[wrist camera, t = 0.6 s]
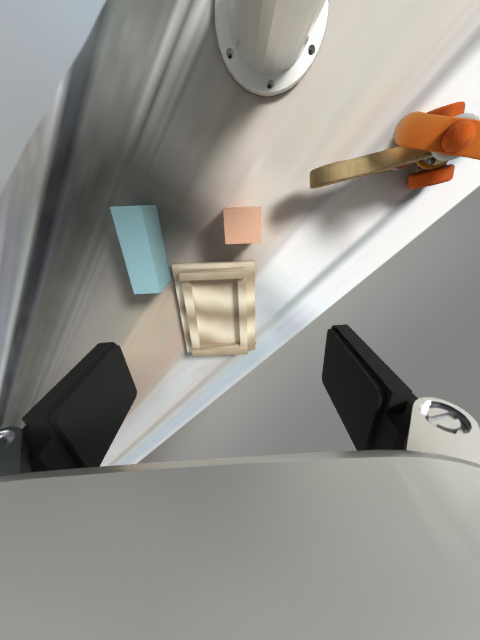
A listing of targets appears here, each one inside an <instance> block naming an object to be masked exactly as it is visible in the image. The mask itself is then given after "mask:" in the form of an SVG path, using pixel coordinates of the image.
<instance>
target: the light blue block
mask: <svg viewBox="0 0 480 640" xmlns="http://www.w3.org/2000/svg"><path fill="white" fill-rule="evenodd" d="M110 210H111V214H112V217H113V221H114V224H115V228H116V231H117V235H118V239H119V242H120V246H121V249H122V253H123V256H124V260H125V263H126V267H127V271H128V274H129V278H130V281H131V285H132V288H133V292H134V294H151V293H161V291H162V290H163V289H164V288H165V287H166V286H167V284H168V283H169V282H170V281H171V278H170V273H169V268H168V263H167V257H166V252H165V247H164V242H163V237H162V231H161V226H160V221H159V216H158V211H157V205H137V206H115V207H110Z"/></svg>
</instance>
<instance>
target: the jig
mask: <svg viewBox="0 0 480 640" xmlns="http://www.w3.org/2000/svg"><path fill="white" fill-rule="evenodd" d="M172 270H173V276H174V281H175V287H176V292H177V298H178V303H179V309H180V314H181V320H182V325H183V331H184V336H185V342H186V347H187V352H192V356H214V355H239V354H248V350H255V261H254V260H248V261H224V262H199V263H174V264H172Z"/></svg>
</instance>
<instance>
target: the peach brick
mask: <svg viewBox="0 0 480 640" xmlns="http://www.w3.org/2000/svg"><path fill="white" fill-rule="evenodd" d="M223 215H224V231H225V244H244V243H261V207H233V208H223Z"/></svg>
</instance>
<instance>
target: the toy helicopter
mask: <svg viewBox="0 0 480 640" xmlns="http://www.w3.org/2000/svg"><path fill="white" fill-rule="evenodd" d="M464 109H465V103H464V102H456V103H453V104H449V105H446V106H443V107H440V108H437V109H435V110H432V111H430V112H427V113H422V112H412V113H410V114H408V115H406V116H405V117H404V118H402V119H401V121H400V122H399V123H398V124H397V126H396V128H395V131H394V141H395V143H396V144H397V145H398V146H397V147H395V148H391V149H387V150H384V151H380V152H376V153H372V154H369V155H365V156H361V157H358V158H354V159H350V160H344V161H339V162H335V163H331V164H328V165H325V166H322V167H319V168H316V169H314V170H312V171H311V172H310V188H312V189H313V188H318V187H322V186H326V185H330V184H334V183H337V182H341V181H345V180H349V179H353V178H357V177H361V176H364V175H368V174H372V173H379V172H384V171H387V170H391V169H392V170H400V169H403V168H405V167H407V166H408V165H410V164H414V163H417V165H418V171H417V173H413V174H411V175H410V176H409V180H408V188H409V189H415V188H421V187H426V186H431V185H436V184H439V183H443V182H447V181H449V180H451V179H452V177H453V173H454V168H455V166H454V165H453V164H449V165H446V163H447V162H448V161H449V160H452V159H455V158H458V157H460V156H462V157H468V158H473V159H478V160H480V119H479V118H478V117H477V116H476V115H474V114H470V113H465V114H464Z"/></svg>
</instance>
